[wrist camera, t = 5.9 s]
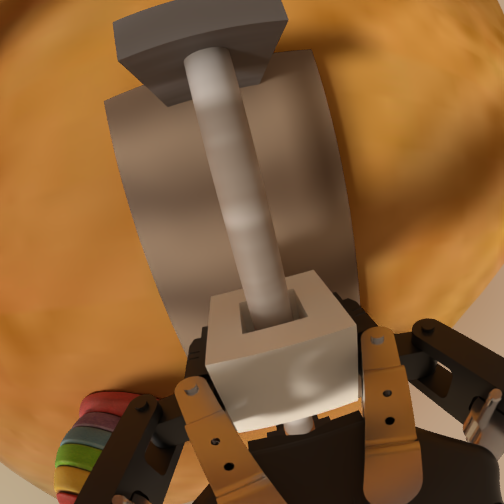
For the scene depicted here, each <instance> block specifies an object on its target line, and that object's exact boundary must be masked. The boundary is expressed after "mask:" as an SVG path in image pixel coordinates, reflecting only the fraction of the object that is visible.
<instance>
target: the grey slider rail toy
mask: <svg viewBox="0 0 504 504" xmlns="http://www.w3.org/2000/svg"><path fill="white" fill-rule="evenodd" d="M287 22H288V17H287V14H286V12H285V9H284V7H283V4H282V2H281V0H174V1H171V2H167V3H164V4H161V5H158V6H154V7H151V8H148V9H146V10H143V11H140V12H137V13H135V14H132V15H129V16H127V17H124V18H122V19H119V20H117V21H115V22H113V29H114V37H115V44H116V51H117V58H118V61H119V62H120V63H121V64H122V65H123V66H124V67H125V68H126V69H127V70H129V71H130V72H131V73H132V74H133V75H134V76H135V77H136V78H137V79H138V80H139V81H140V82H142V83H143V84H144V85H142V86H140V87H137V88H134V89H132V90H129V91H127V92H124V93H122V94H119V95H117V96H115V97H112V98H110V99H108V100H106V101H104V104H105V109H106V115H107V120H108V125H109V129H110V134H111V139H112V143H113V147H114V152H115V156H116V160H117V164H118V168H119V172H120V175H121V179H122V183H123V186H124V190H125V194H126V197H127V200H128V204H129V207H130V210H131V214H132V217H133V220H134V223H135V226H136V230H137V233H138V236H139V239H140V242H141V245H142V247H143V250H144V253H145V256H146V259H147V262H148V264H149V267H150V270H151V272H152V275H153V278H154V280H155V283H156V286H157V288H158V291H159V293H160V296H161V298H162V301H163V303H164V306H165V308H166V311H167V313H168V315H169V318H170V320H171V322H172V325H173V327H174V329H175V331H176V334H177V336H178V338H179V340H180V343H181V345H182V347H183V349H184V351H185V353H186V356H187V358H188V355H189V354H188V352H189V346H190V345H191V343H192V342H193V340H194V339H197V338H201V333H202V327H205V326H208V322H209V311H210V300H211V296H215V295H219V294H223V293H227V292H231V291H235V290H239V289H243V291H244V294H245V298H246V301H247V305H248V308H249V312H250V315H251V319H252V322H253V325H254V329H255V331H257V330H261V329H265V328H269V327H273V326H277V325H280V324H284V323H288V322H291V321H294V318H293V313H292V309H291V304H290V299H289V294H288V289H287V285H286V280H285V277H289V276H293V275H296V274H300V273H304V272H307V271H311V270H314V271H315V272H316V273H317V275H318V276H319V277H320V278H321V280H322V281H323V282H324V283H325V285H326V286H327V287H328V288H329V290H330V291H331V292H332V293H333V292H337V294H338V295H339V296H340V297H341V298H342V300H344V299H347V298H349V299H352V300H354V301H356V302H357V303H358V304H359V305H360V296H359V283H358V272H357V262H356V253H355V244H354V236H353V229H352V222H351V215H350V208H349V202H348V196H347V190H346V184H345V179H344V174H343V168H342V163H341V158H340V154H339V149H338V144H337V140H336V135H335V131H334V127H333V123H332V119H331V115H330V111H329V107H328V103H327V99H326V96H325V92H324V89H323V85H322V82H321V78H320V75H319V72H318V68H317V65H316V62H315V59H314V56H313V53H312V50H311V49H309V50H297V51H287V52H278V53H273V52H274V50H275V48H276V45H277V43H278V41H279V39H280V37H281V35H282V33H283V30H284V28H285V26H286V24H287ZM360 397H362V393H361V376H360V375H359V374H358V398H360ZM225 412H226V415H227V417H228V419H229V420H230V422H231V424H232V425H233V427H234V428H235V430H236V431H237V429H236V427H235V426H234V424H233V422H232V420H231V418H230V416H229V414H228V412H227V410H225ZM329 421H331V420H330V418H329V416H328V417H325V418H321V419H318V417H317V414H316V415H313V416H309V417H306V418H302V419H299V420H295V421H291V422H287V423H283V424H279V425H276V427H277V431H273V432H268V433H267V437H271V436H277V435H298V434H306V433H309V432H311V431H313V430H315V429H316V428H318V427H320V426H322V425H324V424H326V423H327V422H329Z"/></svg>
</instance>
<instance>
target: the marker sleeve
mask: <svg viewBox="0 0 504 504" xmlns="http://www.w3.org/2000/svg"><path fill="white" fill-rule="evenodd" d="M285 280H286V285H287V289H288V294H289V299H290V304H291V309H292V313H293V318H294V321H291V322H288V323H284V324H280V325H277V326H273V327H269V328H265V329H261V330H257V331H255V329H254V325H253V322H252V319H251V315H250V312H249V308H248V305H247V301H246V298H245V294H244V291H243V289H239V290H235V291H231V292H227V293H223V294H219V295H215V296H211V300H210V311H209V322H208V334H207V346H206V358H205V366H206V369H207V371H208V373H209V375H210V377H211V379H212V382H213V384H214V386H215V388H216V390H217V392H218V394H219V396H220V398H221V400H222V402H223V404H224V406H225V408H226V410H227V412H228V414H229V416H230V418H231V420H232V422H233V424H234V426H235V427H236V429H237V431H238V433H240V432H246V431H251V430H256V429H261V428H266V427H270V426H275V425H279V424H283V423H287V422H291V421H295V420H299V419H302V418H306V417H309V416H313V415H316V414H320V413H323V412H326V411H329V410H332V409H335V408H338V407H341V406H344V405H347V404H350V403H352V402H355V401H358V345H357V325H356V323H355V322H354V321H353V319H352V318H351V317H350V315H349V314H348V313H347V312H346V310H345V309H344V308H343V306H342V305H341V304H340V302H339V301H338V300H337V299H336V297H335V296H334V295H333V294H332V292H331V291H330V290H329V288H328V287H327V286H326V285H325V283H324V282H323V281H322V280H321V278H320V277H319V276H318V275H317V273H316V272H315V271H314V270H311V271H307V272H304V273H300V274H296V275H293V276H289V277H285Z"/></svg>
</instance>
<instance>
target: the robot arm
mask: <svg viewBox="0 0 504 504" xmlns="http://www.w3.org/2000/svg"><path fill="white" fill-rule="evenodd" d="M332 294H333V295H334V296H335V297H336V299H337V300H338V301H339V302H340V304H341V305H342V306H343V308H344V309H345V310H346V312H347V313H348V314H349V315H350V317H351V318H352V319H353V321H354V322H355V323H356V325H357V345H358V374H359V375H360V376H361V393H362V415H361V413H360V412H359V410H358V411H355V412H353V413H350V414H347V415H344V416H341V417H339V418H336V419H333V420H331V421H329V422H327V423H326V424H324V425H322V426H320V427H318V428H316V429H315V430H313V431H311V432H309V433H306V434H298V435H277V436H271V437H267V438H262V439H257V440H252V441H248V447H249V449H247V447H246V446H245V444H244V443H243V441H242V440H241V438H240V436H239V435H238V433H237V432H236V430H235V428H234V427H233V425H232V424H231V422H230V420H229V419H228V417H227V415H226V412H225V410H226V408H225V406H224V404H223V402H222V400H221V398H220V396H219V394H218V392H217V390H216V388H215V386H214V384H213V382H212V379H211V377H210V375H209V373H208V371H207V369H206V366H205V358H206V346H207V334H208V326H205V327H202V333H201V338H197V339H194V340H193V342H192V343H191V345H190V346H189V352H188V354H189V355H188V358H187V359H188V360H187V365H186V371H185V378H184V380H182V381H181V382H179V383H178V384H177V386H176V388H175V394H173V395H171V396H169V397H166V398H163V399H161V400H157V399H156V398H155V397H154V396H153V395H150V394H143V395H140V396H138V397H136V398H134V399H133V400H132V401H131V402H130V403H129V405H128V406H127V408H126V410H125V412H124V413H123V415H122V417H121V419H120V420H119V422H118V424H117V425H116V427H115V429H114V431H113V433H112V434H111V436H110V438H109V440H108V441H107V443H106V445H105V447H104V448H103V450H102V452H101V454H100V456H99V457H98V459H97V461H96V463H95V465H94V467H93V468H92V470H91V472H90V474H89V476H88V478H87V479H86V481H85V483H84V485H83V487H82V489H81V491H80V493H79V494H78V496H77V498H76V500H75V502H74V504H163V501H164V498H165V496H166V493H167V490H168V487H169V485H170V482H171V479H172V476H173V474H174V471H175V468H176V465H177V463H178V460H179V457H180V454H181V451H182V449H183V446H184V443H185V442H186V441H189V440H190V442H191V444H192V447H193V449H194V451H195V453H196V456H197V458H198V460H199V462H200V465H201V467H202V469H203V471H204V473H205V475H206V478H207V480H208V482H209V484H208V486H207V487H206V488H205V489H204V490H203V492H202V493H201V494H200V495H199V496H198V497H197V499H196V500H195V501H194V502H193V503H192V504H504V503H503V501H502V497H501V492H500V482H499V479H500V477H499V476H500V474H499V465H498V462H497V461H498V459H499V458H500V457H501V456H502V455H503V453H504V358H503V357H502V356H500V355H498V354H496V353H495V352H493V351H491V350H489V349H488V348H486V347H484V346H482V345H480V344H479V343H477V342H475V341H473V340H472V339H470V338H468V337H466V336H464V335H463V334H461V333H459V332H457V331H456V330H454V329H452V328H450V327H448V326H446V325H445V324H443V323H441V322H439V321H437V320H435V319H422V320H419V321H417V322H416V323H415V324H414V325H413V327H412V332H407V333H401V334H394V333H393V332H392V331H391V330H390V329H388V328H386V327H378V325H377V324H376V323H375V322H374V321H373V320H372V319H371V317H370V316H369V315H368V314H367V313H365V311H364V309H363V308H361V306H360V305H359V304H358V303H357V302H356V301H354V300H352V299H349V298H347V299H344V300H342V298H341V297H340V296H339V295H338V294H337V292H333V293H332ZM437 362H440V363H441V364H443V365H444V366H446V367H447V368H449V369H450V370H451V372H452V373H451V372H449V371H448V370H446V369H445V368H443V367H442V366H440V365H439V364H437ZM408 381H409V382H410V383H411V384H412V385H414V386H415V387H416V388H417V389H419V390H420V391H421V392H422V393H424V394H425V395H426V396H427V397H429V398H430V399H431V400H433V401H434V402H435V403H436V404H438V405H439V406H440V407H441V408H443V409H444V410H445V411H447V412H448V413H449V414H450V415H452V416H453V417H454V418H455V419H457V420H458V421H459V422H461V423H462V424H463V432H464V434H465V436H466V440H467V442H465V441H462V440H458V439H454V438H451V437H447V436H444V435H440V434H437V433H433V432H430V431H427V430H424V429H421V428H418V427H415V421H414V414H413V408H412V401H411V396H410V390H409V385H408ZM150 440H151V441H150ZM149 442H150V443H149ZM148 444H149V445H148ZM145 451H146V452H145Z"/></svg>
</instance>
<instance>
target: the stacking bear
mask: <svg viewBox="0 0 504 504" xmlns="http://www.w3.org/2000/svg"><path fill="white" fill-rule="evenodd" d="M138 396H140V395H138V394H133V393H126V392H99V393H94V394H91V395H88V396H87V397H85V398H84V399H83V401H82V403H81V406H80V412H79V415H80V419H79V420H78V421H77V422H76V423H75V424H74V425H73V427H72V429H71V430H69V432H68V433H67V434H66V436H65V437H64V439H63V440H62V442H61V444H60V447H59V449H58V452H57V456H56V461H55V467H56V469H55V473H54V489H55V492H56V493H57V495H56V496H57V499H58V502H59V503H60V504H74V502H75V500H76V498H77V496H78V494H79V493H80V491H81V489H82V487H83V485H84V483H85V481H86V479H87V478H88V476H89V474H90V472H91V470H92V468H93V467H94V465H95V463H96V461H97V459H98V457H99V456H100V454H101V452H102V450H103V448H104V447H105V445H106V443H107V441H108V440H109V438H110V436H111V434H112V433H113V431H114V429H115V427H116V425H117V424H118V422H119V420H120V419H121V417H122V415H123V413H124V412H125V410H126V408H127V406H128V405H129V403H130V402H131V401H132V400H133V399H134V398H136V397H138ZM157 400H160V399H157ZM150 441H151V440H150ZM149 443H150V442H149ZM148 445H149V444H148ZM145 452H146V451H145Z"/></svg>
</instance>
